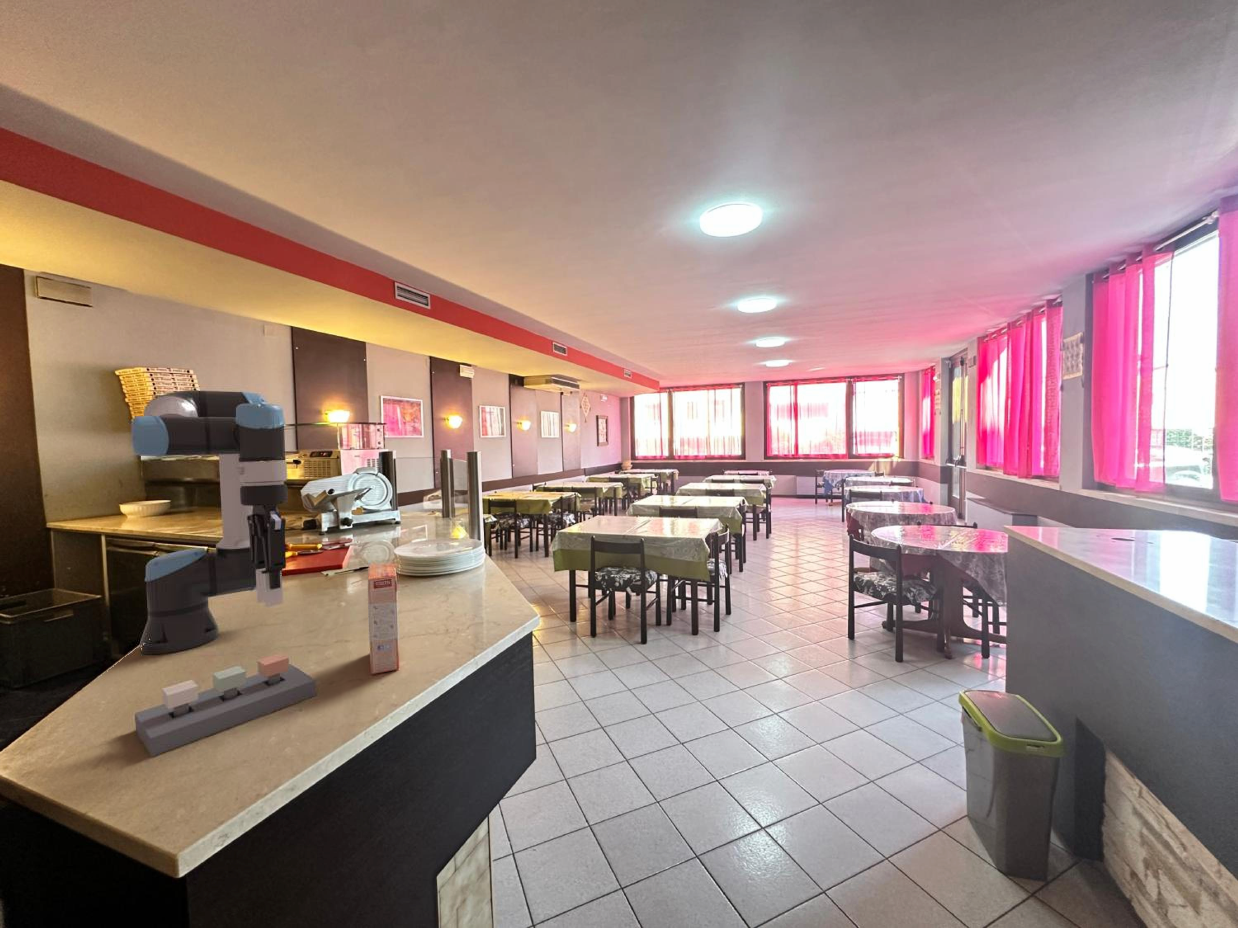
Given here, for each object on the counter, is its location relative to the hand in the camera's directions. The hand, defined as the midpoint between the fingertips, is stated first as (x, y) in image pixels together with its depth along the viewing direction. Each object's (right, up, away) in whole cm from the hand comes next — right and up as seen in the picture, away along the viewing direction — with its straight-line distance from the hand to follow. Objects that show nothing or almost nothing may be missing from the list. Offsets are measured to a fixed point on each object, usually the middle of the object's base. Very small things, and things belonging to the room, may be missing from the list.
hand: (270, 602), depth 98 cm
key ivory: (-8, -17, -10) cm, 22 cm away
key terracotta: (0, -17, +1) cm, 17 cm away
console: (-4, -19, -5) cm, 20 cm away
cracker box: (+15, -18, +16) cm, 28 cm away
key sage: (-4, -17, -5) cm, 18 cm away
